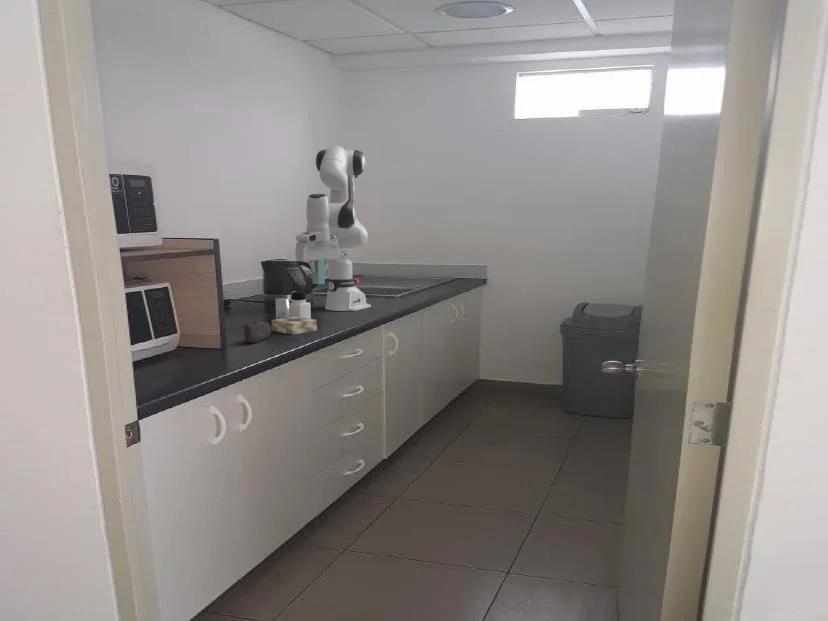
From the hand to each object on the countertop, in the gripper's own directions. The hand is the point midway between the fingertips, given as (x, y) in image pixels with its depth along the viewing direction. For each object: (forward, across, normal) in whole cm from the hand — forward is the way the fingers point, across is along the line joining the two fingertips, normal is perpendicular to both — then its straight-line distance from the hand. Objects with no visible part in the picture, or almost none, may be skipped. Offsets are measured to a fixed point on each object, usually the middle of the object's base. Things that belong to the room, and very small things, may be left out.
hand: (318, 271), depth 247 cm
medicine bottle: (+22, -4, -16) cm, 27 cm away
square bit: (+5, 0, 0) cm, 5 cm away
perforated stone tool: (+22, +33, +4) cm, 40 cm away
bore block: (+22, +12, 0) cm, 25 cm away
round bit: (+22, +6, -14) cm, 27 cm away
